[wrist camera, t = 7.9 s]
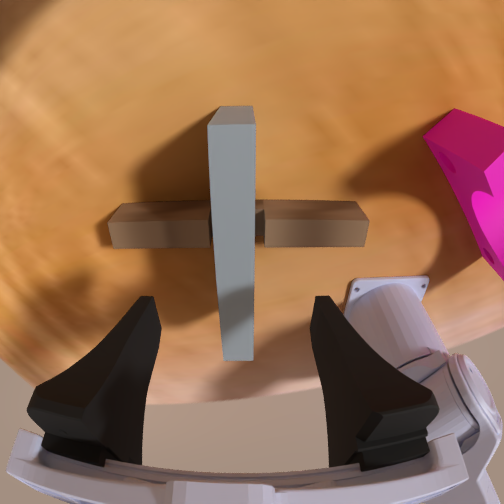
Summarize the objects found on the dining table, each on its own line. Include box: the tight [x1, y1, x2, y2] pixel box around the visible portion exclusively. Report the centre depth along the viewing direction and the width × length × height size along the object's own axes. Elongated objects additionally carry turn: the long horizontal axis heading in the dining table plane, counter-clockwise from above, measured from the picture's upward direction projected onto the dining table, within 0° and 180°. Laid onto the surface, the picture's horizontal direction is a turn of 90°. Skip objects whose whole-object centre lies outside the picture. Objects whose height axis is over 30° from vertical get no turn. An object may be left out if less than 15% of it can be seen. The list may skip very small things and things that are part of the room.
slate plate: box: [207, 106, 256, 361], centre depth 19 cm, size 15×2×7 cm, turn 0°
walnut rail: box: [108, 200, 369, 249], centre depth 21 cm, size 17×2×3 cm, turn 90°
